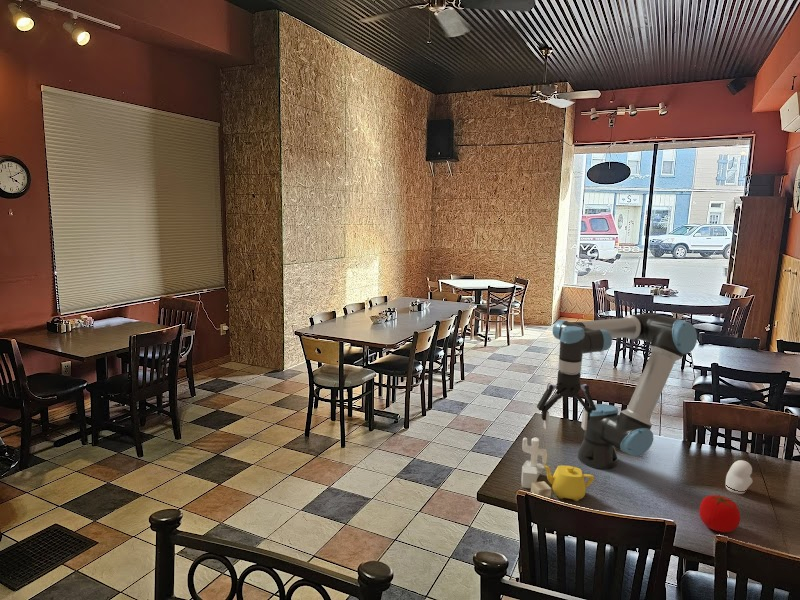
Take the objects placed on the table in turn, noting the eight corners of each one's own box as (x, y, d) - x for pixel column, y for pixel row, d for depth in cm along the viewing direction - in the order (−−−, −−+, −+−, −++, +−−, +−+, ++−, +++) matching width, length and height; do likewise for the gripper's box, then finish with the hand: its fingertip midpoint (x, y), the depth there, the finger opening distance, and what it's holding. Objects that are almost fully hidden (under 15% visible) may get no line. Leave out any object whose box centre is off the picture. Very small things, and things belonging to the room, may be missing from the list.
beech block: (542, 493, 190) (544, 481, 189) (550, 501, 185) (551, 488, 184) (530, 495, 188) (531, 482, 187) (537, 503, 184) (538, 490, 183)
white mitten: (741, 497, 190) (746, 466, 188) (720, 487, 197) (725, 457, 195) (752, 492, 194) (757, 462, 191) (731, 482, 200) (736, 453, 198)
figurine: (543, 482, 197) (546, 445, 194) (518, 476, 201) (520, 439, 198) (547, 474, 203) (550, 438, 200) (523, 468, 207) (525, 432, 205)
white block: (534, 481, 198) (536, 467, 196) (535, 489, 193) (537, 474, 192) (521, 480, 198) (522, 465, 197) (521, 487, 194) (523, 472, 192)
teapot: (540, 498, 187) (542, 470, 185) (540, 482, 197) (542, 456, 195) (593, 506, 182) (596, 478, 180) (590, 490, 193) (593, 463, 191)
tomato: (700, 533, 169) (705, 503, 167) (694, 513, 180) (698, 484, 178) (741, 542, 165) (746, 512, 163) (732, 520, 176) (737, 492, 174)
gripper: (600, 367, 186) (595, 424, 190) (530, 367, 185) (526, 423, 189) (609, 375, 179) (603, 433, 183) (536, 374, 178) (532, 433, 182)
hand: (564, 428), depth 186 cm, fingers open, 13 cm apart
